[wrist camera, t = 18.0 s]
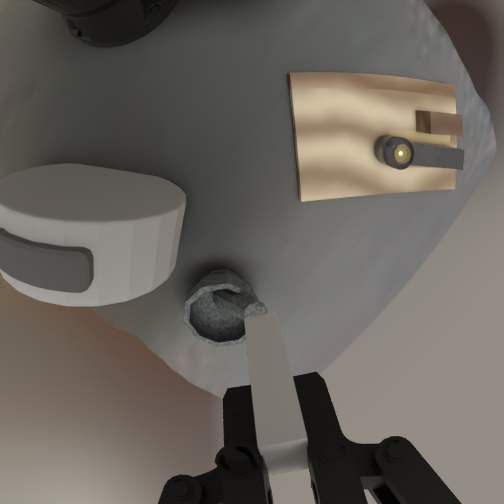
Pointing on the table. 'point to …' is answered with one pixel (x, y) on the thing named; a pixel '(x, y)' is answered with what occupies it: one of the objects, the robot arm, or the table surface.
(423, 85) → the board
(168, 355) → the table surface
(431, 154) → the latch bar
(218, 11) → the table surface
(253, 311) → the mortar and pestle
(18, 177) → the alarm clock
